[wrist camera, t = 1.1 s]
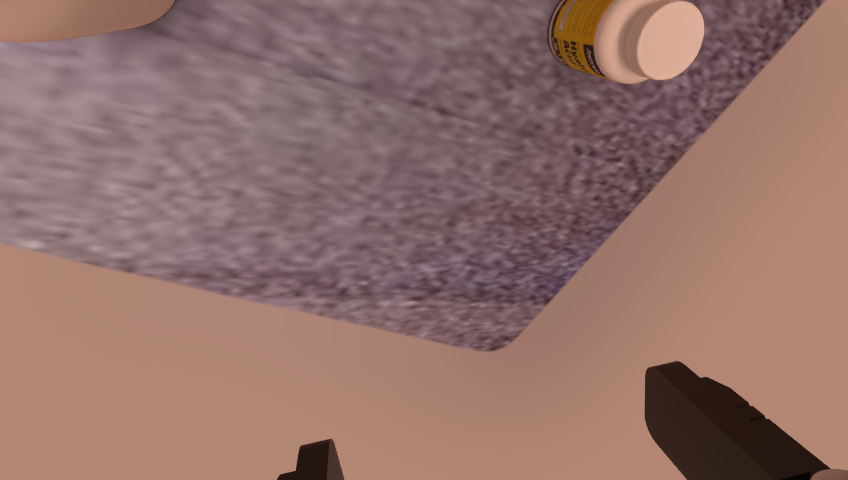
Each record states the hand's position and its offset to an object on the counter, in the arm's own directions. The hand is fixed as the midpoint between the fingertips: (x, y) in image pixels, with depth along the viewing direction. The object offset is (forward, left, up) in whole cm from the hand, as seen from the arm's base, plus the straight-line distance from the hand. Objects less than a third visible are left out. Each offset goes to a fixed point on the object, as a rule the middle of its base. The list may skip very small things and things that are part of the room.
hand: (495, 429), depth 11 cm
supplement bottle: (+1, +17, -26) cm, 31 cm away
